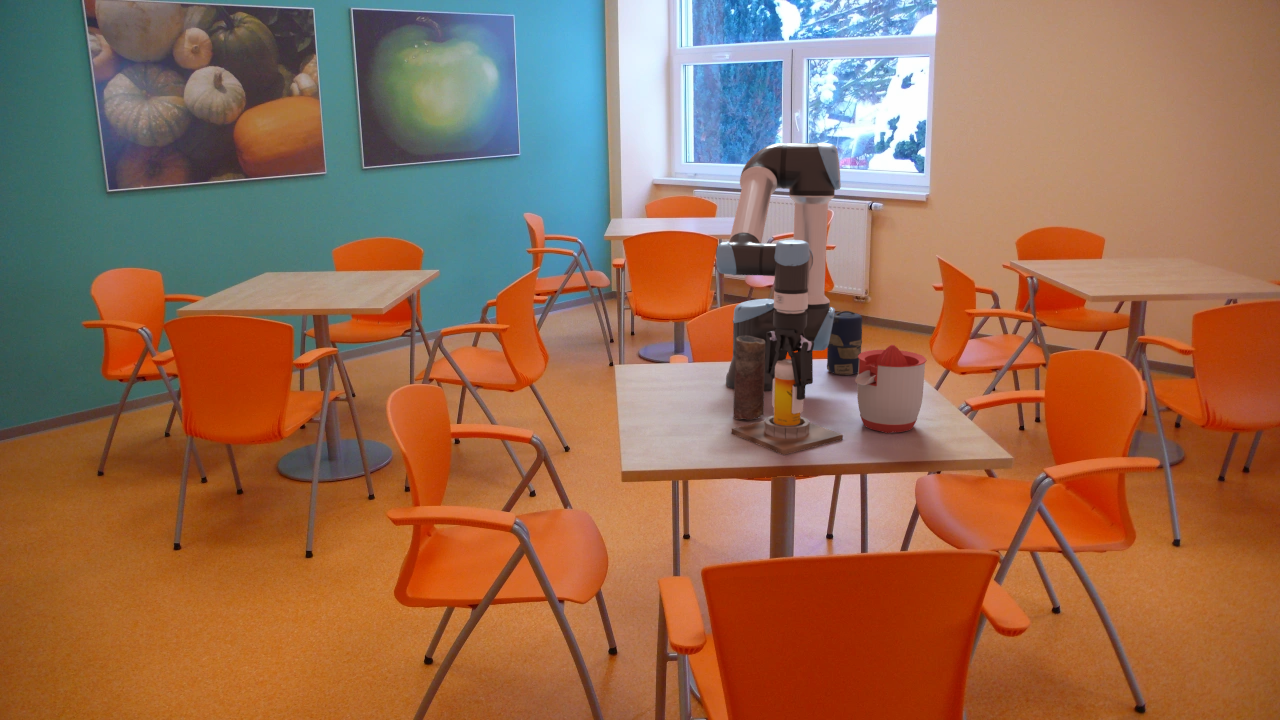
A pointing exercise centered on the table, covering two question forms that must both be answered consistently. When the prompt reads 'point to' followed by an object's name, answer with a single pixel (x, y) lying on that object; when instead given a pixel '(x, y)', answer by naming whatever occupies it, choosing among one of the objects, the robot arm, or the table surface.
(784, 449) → the can holder
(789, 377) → the beer can
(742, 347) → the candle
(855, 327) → the canister
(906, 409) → the citrus juicer
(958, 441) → the table surface
